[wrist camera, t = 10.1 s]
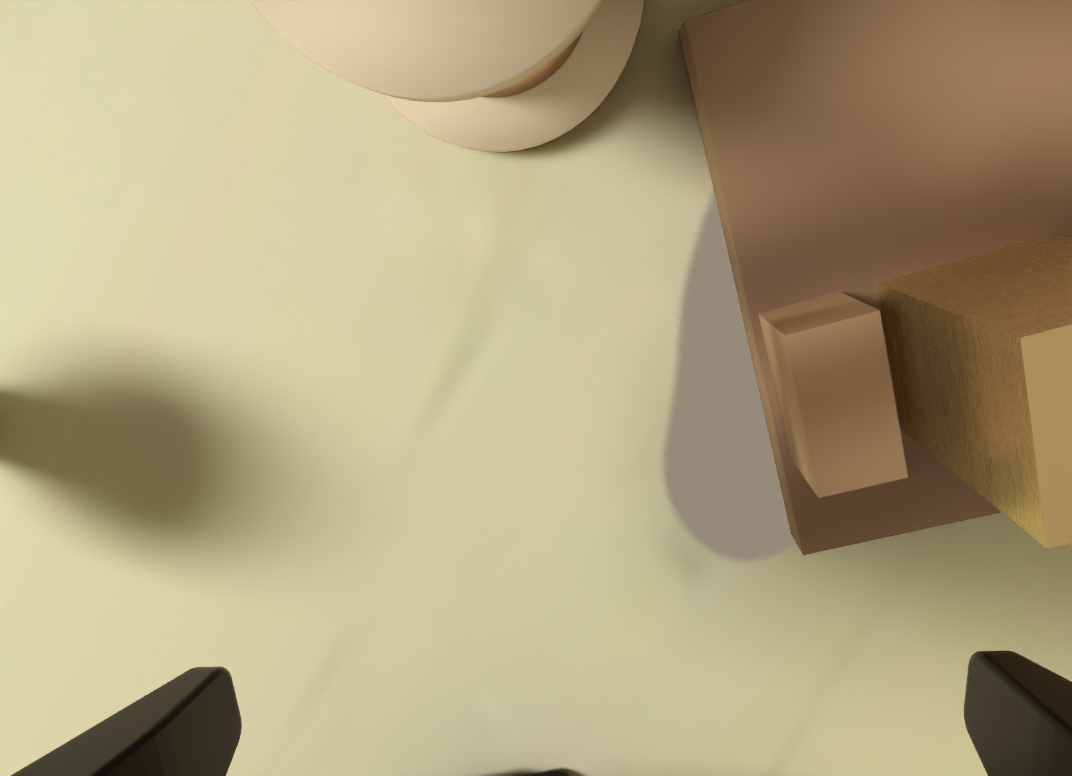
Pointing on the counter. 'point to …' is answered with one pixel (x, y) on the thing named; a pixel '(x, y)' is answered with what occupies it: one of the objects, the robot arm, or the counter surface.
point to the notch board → (871, 214)
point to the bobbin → (470, 60)
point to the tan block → (992, 375)
